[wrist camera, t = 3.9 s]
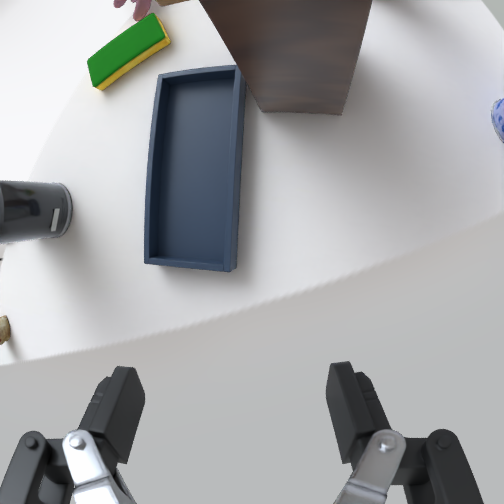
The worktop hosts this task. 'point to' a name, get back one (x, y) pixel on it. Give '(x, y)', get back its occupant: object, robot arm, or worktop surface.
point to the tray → (195, 169)
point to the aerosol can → (498, 118)
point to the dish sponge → (127, 51)
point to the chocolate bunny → (4, 329)
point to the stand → (293, 49)
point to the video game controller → (140, 8)
